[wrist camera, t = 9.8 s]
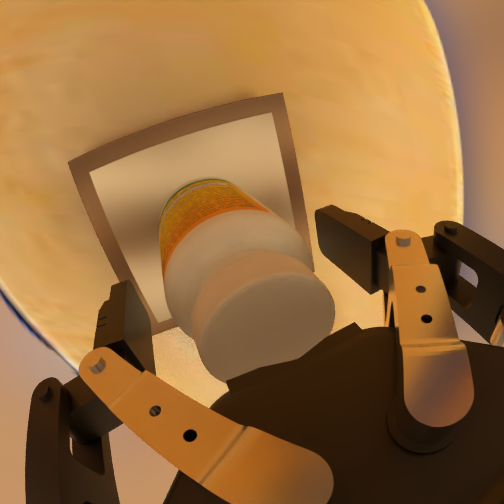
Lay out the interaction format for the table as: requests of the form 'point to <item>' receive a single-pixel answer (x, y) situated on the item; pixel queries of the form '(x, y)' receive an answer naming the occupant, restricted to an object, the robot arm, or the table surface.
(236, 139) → the base slab
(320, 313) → the supplement bottle
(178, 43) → the table surface
